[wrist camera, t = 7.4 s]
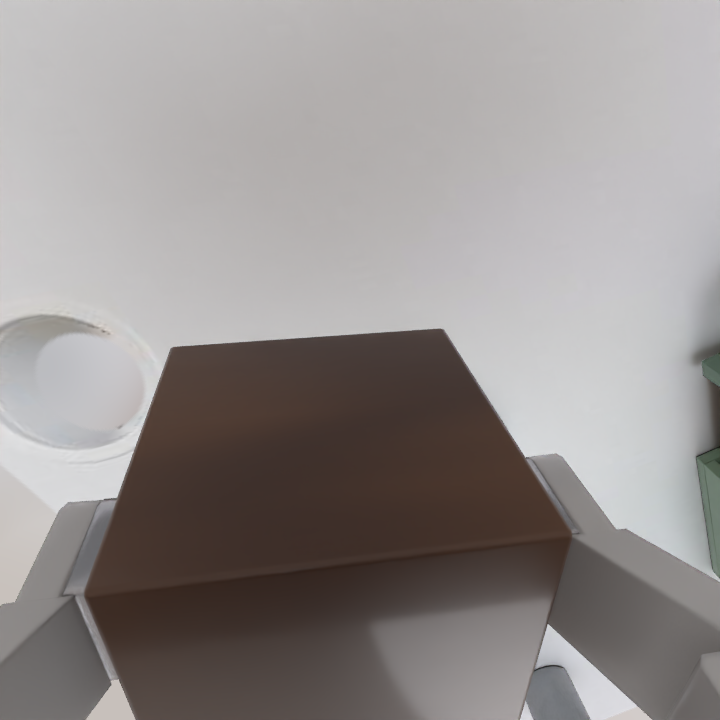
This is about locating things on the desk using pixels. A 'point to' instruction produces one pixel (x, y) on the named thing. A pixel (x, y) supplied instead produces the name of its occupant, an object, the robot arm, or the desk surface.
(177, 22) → the desk surface
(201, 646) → the block
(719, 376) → the drawer
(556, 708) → the grey cylindrical cup
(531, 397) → the desk surface
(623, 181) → the desk surface
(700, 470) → the cabinet
